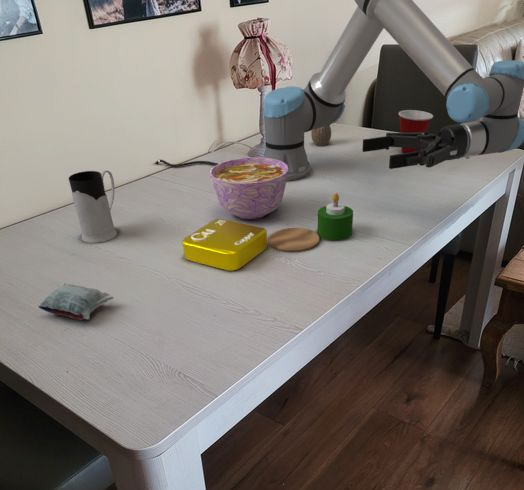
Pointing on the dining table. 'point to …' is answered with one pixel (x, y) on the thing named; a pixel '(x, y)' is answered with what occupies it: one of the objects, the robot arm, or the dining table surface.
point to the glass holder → (93, 206)
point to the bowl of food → (250, 185)
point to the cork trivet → (294, 239)
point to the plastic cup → (413, 123)
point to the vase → (321, 136)
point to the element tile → (225, 244)
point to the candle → (335, 221)
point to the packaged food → (74, 301)
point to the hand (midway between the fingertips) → (375, 153)
